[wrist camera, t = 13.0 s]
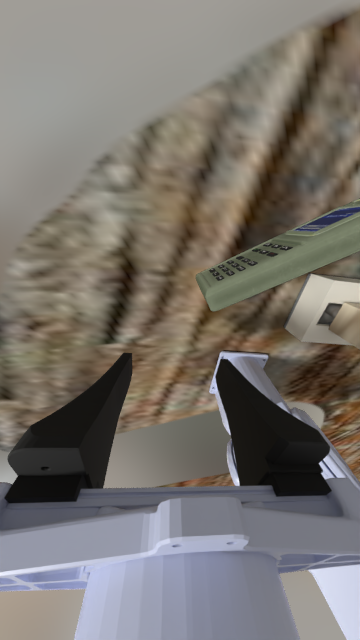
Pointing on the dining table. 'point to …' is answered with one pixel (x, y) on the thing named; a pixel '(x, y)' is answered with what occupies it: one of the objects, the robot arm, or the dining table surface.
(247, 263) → the handheld radio
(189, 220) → the dining table surface
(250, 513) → the robot arm
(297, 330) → the white hollow rectangular frame
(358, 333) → the keyhole peg
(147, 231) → the dining table surface
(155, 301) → the dining table surface
